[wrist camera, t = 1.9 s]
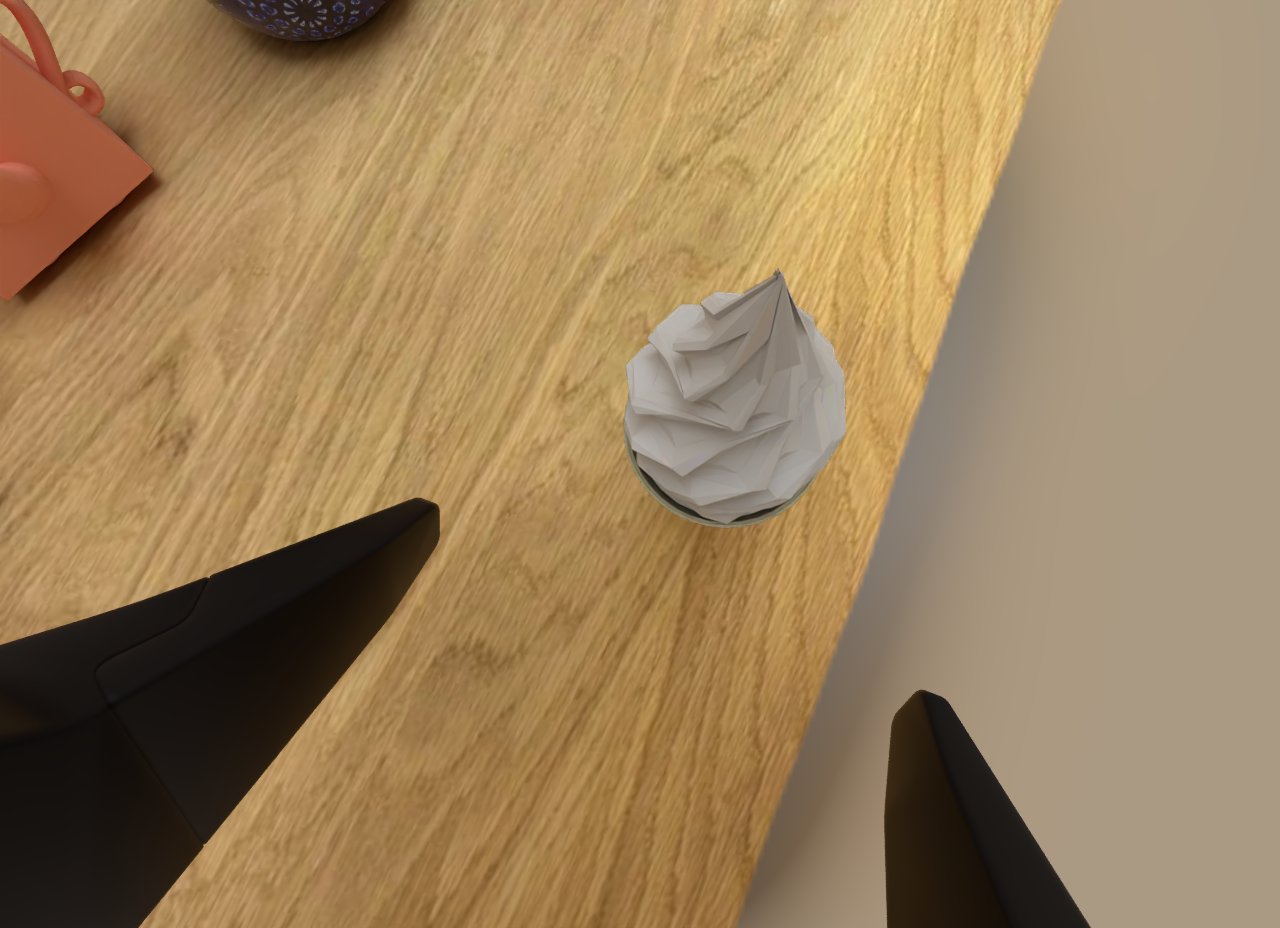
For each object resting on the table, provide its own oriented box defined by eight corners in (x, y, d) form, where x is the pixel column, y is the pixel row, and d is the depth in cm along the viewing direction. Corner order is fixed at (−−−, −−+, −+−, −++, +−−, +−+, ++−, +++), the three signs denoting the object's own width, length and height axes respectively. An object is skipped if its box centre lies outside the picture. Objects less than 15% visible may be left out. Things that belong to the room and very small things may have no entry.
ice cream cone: (769, 416, 22) (972, 101, 7) (770, 545, 21) (1010, 488, 6) (642, 414, 22) (588, 107, 7) (638, 542, 21) (567, 477, 6)
